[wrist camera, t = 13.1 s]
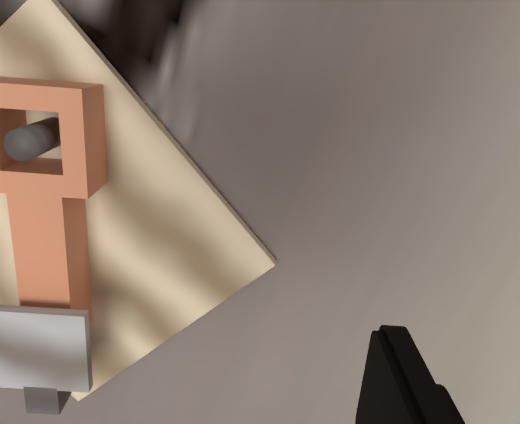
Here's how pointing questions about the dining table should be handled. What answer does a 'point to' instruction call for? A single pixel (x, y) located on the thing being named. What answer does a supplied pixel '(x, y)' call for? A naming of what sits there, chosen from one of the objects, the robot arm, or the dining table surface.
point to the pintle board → (113, 229)
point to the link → (53, 190)
